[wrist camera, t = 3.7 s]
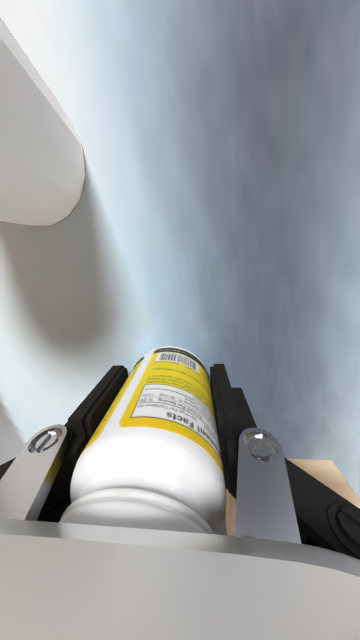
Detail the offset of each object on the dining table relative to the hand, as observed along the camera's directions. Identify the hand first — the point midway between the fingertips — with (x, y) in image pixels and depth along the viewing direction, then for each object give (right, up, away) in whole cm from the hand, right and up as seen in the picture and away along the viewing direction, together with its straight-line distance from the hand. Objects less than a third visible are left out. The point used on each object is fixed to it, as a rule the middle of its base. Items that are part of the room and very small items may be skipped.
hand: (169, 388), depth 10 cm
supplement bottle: (0, 0, +1) cm, 1 cm away
